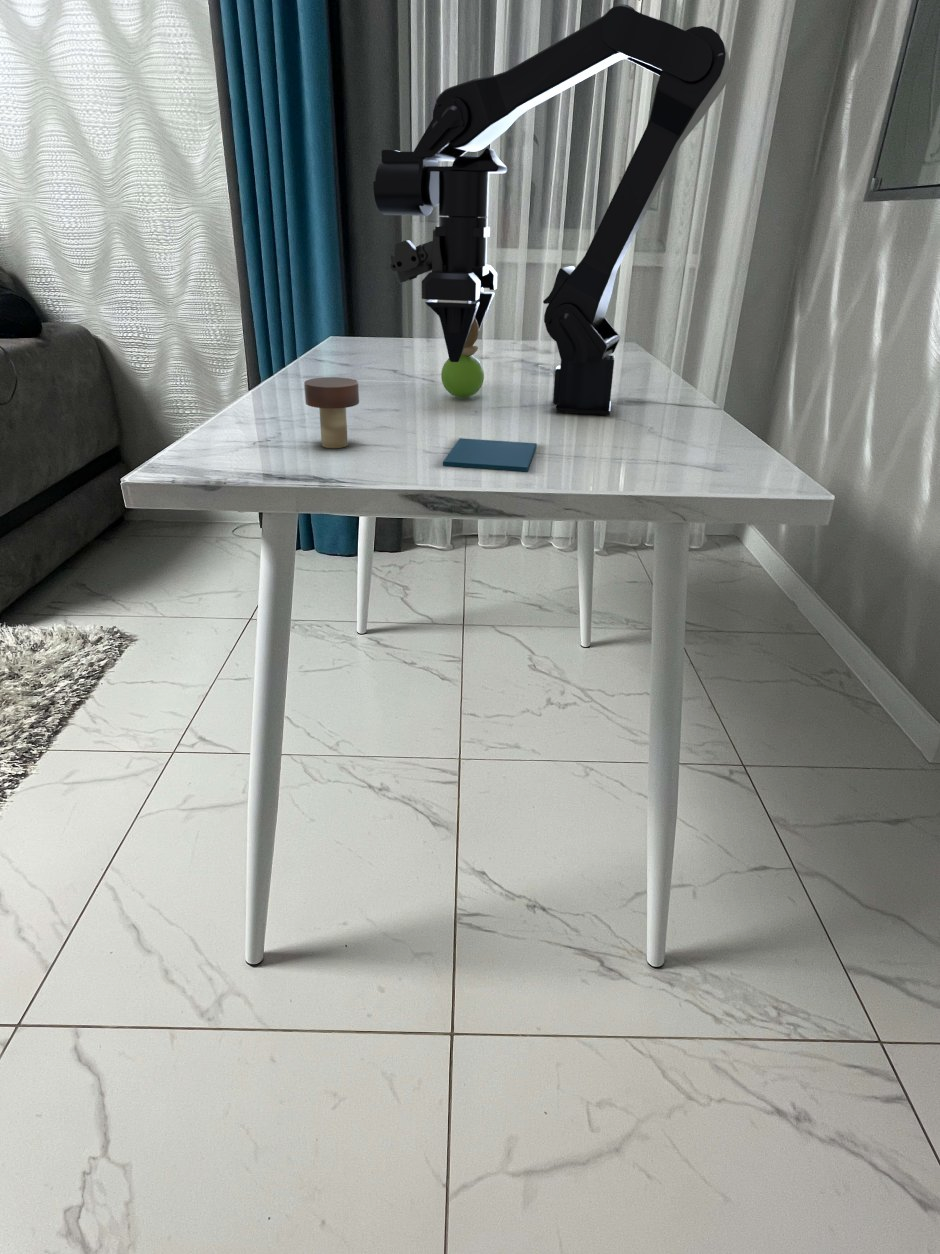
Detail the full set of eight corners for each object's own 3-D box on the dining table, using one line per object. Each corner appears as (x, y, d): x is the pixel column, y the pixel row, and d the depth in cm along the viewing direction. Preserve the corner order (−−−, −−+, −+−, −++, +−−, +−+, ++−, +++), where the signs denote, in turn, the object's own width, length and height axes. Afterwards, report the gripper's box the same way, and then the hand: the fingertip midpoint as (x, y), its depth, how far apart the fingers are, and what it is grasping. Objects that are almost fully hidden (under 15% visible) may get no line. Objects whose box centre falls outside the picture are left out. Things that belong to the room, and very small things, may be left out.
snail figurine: (457, 390, 108) (459, 293, 102) (492, 398, 104) (495, 297, 98) (427, 395, 105) (427, 295, 99) (461, 403, 100) (463, 300, 95)
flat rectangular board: (536, 447, 83) (536, 443, 83) (527, 471, 75) (527, 467, 75) (459, 441, 84) (459, 438, 84) (442, 465, 76) (442, 461, 76)
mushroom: (366, 440, 84) (364, 378, 81) (352, 453, 79) (349, 388, 76) (318, 437, 84) (314, 375, 81) (301, 450, 80) (296, 385, 77)
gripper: (414, 215, 104) (415, 342, 111) (375, 215, 88) (379, 364, 95) (499, 217, 103) (495, 346, 110) (476, 218, 86) (473, 369, 93)
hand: (461, 356), depth 102 cm, fingers open, 9 cm apart
